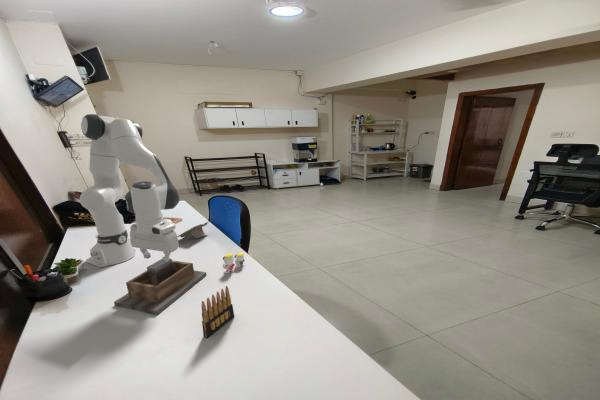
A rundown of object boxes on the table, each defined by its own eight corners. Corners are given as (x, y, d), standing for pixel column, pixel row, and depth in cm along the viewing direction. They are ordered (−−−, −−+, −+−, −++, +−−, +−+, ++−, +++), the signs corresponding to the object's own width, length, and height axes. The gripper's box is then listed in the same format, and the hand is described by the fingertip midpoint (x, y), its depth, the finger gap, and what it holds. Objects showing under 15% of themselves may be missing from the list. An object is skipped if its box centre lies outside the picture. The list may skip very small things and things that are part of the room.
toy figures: (241, 262, 121) (239, 246, 119) (247, 264, 118) (245, 248, 116) (220, 273, 111) (217, 256, 109) (226, 276, 109) (224, 258, 107)
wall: (181, 252, 144) (200, 234, 141) (170, 239, 145) (189, 220, 141) (200, 243, 163) (218, 227, 159) (191, 232, 163) (208, 215, 160)
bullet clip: (230, 315, 85) (226, 283, 82) (234, 317, 84) (230, 285, 81) (203, 336, 76) (197, 301, 73) (207, 338, 75) (201, 303, 72)
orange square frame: (146, 226, 177) (145, 224, 176) (164, 219, 192) (164, 216, 191) (164, 228, 172) (164, 225, 171) (182, 220, 187) (181, 218, 186)
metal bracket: (147, 289, 98) (142, 266, 96) (164, 279, 106) (159, 257, 103) (163, 293, 96) (159, 269, 94) (179, 281, 103) (175, 259, 101)
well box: (114, 305, 92) (110, 287, 90) (169, 269, 116) (167, 254, 114) (157, 314, 86) (153, 295, 84) (206, 275, 110) (204, 259, 108)
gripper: (122, 226, 95) (129, 259, 98) (165, 230, 88) (171, 266, 92) (137, 220, 100) (143, 252, 104) (178, 225, 94) (183, 258, 97)
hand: (156, 259), depth 98 cm, fingers open, 8 cm apart
